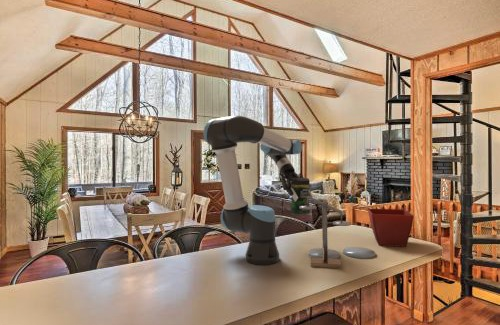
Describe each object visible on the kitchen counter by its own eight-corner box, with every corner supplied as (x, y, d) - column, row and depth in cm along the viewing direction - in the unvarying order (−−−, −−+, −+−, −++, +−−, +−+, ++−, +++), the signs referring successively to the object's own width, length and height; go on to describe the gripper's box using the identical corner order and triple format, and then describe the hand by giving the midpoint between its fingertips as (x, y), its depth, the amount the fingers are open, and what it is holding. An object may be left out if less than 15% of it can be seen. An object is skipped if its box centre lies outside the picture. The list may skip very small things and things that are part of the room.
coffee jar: (296, 215, 140) (296, 178, 141) (288, 213, 148) (288, 177, 148) (312, 214, 144) (312, 177, 144) (303, 211, 151) (303, 177, 152)
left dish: (308, 259, 125) (308, 256, 125) (308, 250, 139) (308, 247, 139) (341, 260, 122) (341, 258, 122) (338, 251, 136) (338, 249, 136)
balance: (300, 266, 116) (299, 196, 117) (300, 260, 123) (299, 195, 124) (352, 269, 112) (351, 197, 113) (350, 263, 119) (348, 195, 120)
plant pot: (372, 246, 143) (371, 213, 143) (368, 237, 161) (367, 208, 162) (414, 249, 138) (414, 215, 138) (405, 240, 156) (404, 209, 156)
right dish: (344, 257, 127) (344, 254, 127) (341, 248, 140) (341, 246, 140) (378, 259, 124) (378, 256, 124) (371, 250, 137) (371, 247, 137)
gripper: (298, 172, 165) (317, 202, 151) (266, 172, 155) (283, 205, 140) (304, 162, 160) (324, 193, 146) (271, 162, 150) (289, 195, 136)
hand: (304, 198), depth 143 cm, fingers closed on coffee jar, 9 cm apart
